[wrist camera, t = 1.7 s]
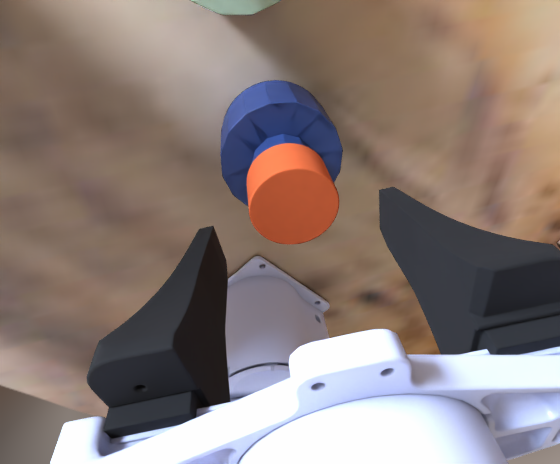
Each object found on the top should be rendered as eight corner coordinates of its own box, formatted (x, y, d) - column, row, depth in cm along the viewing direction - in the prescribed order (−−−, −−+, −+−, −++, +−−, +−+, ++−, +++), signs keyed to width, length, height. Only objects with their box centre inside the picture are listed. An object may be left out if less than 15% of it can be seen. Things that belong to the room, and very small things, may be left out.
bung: (337, 166, 20) (357, 206, 17) (283, 214, 22) (292, 258, 19) (285, 115, 18) (297, 148, 15) (229, 171, 20) (229, 212, 16)
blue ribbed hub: (346, 132, 24) (376, 176, 19) (274, 197, 27) (285, 251, 22) (275, 54, 21) (289, 84, 16) (200, 137, 23) (192, 185, 18)
